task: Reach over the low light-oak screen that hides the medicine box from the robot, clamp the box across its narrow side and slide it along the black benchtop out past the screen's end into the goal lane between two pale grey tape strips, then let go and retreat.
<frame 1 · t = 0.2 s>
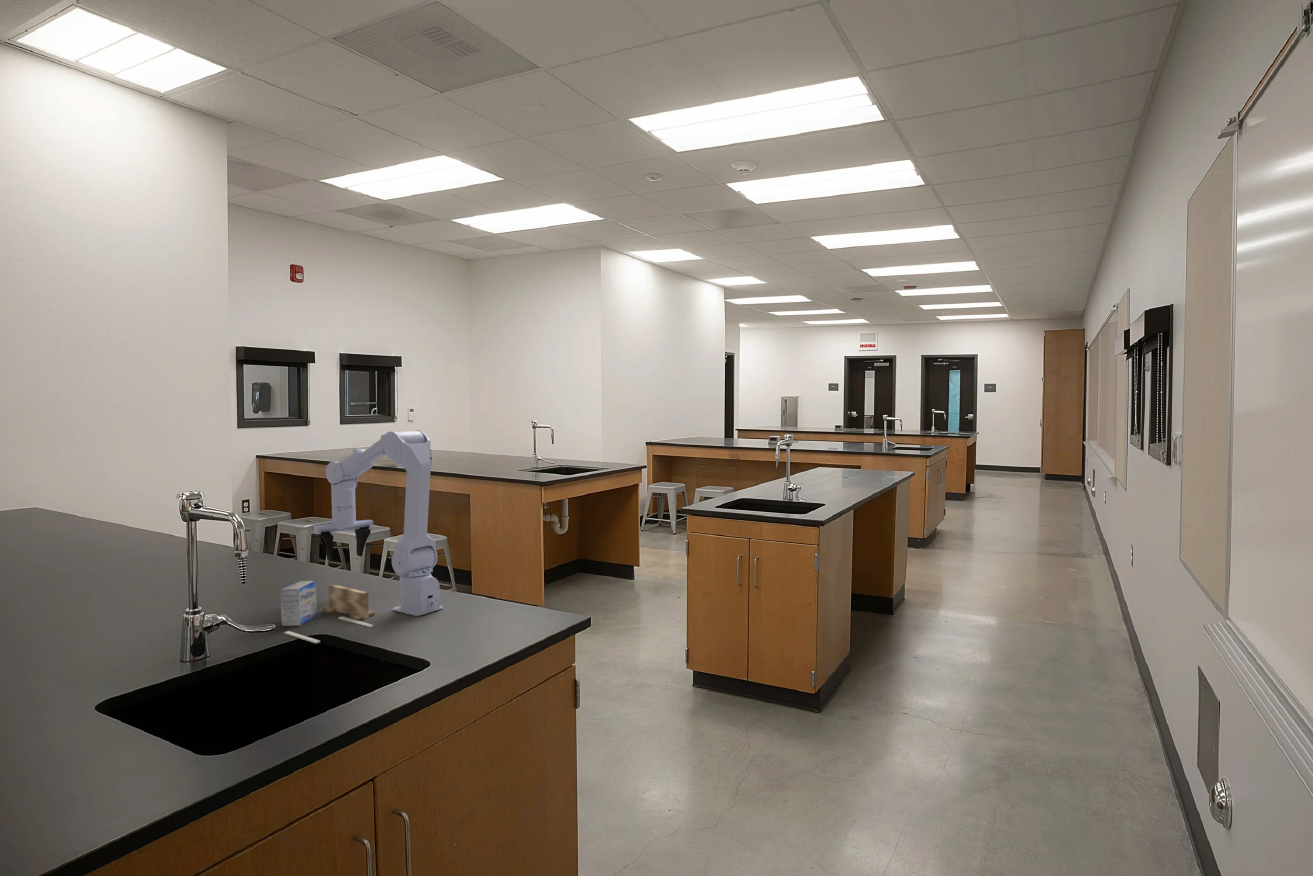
hand: (345, 557, 191), 10 cm above the counter, fingers open, 7 cm apart
tape marks: (329, 629, 162), on the counter
medicine box: (299, 622, 169), on the counter
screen: (348, 613, 175), on the counter
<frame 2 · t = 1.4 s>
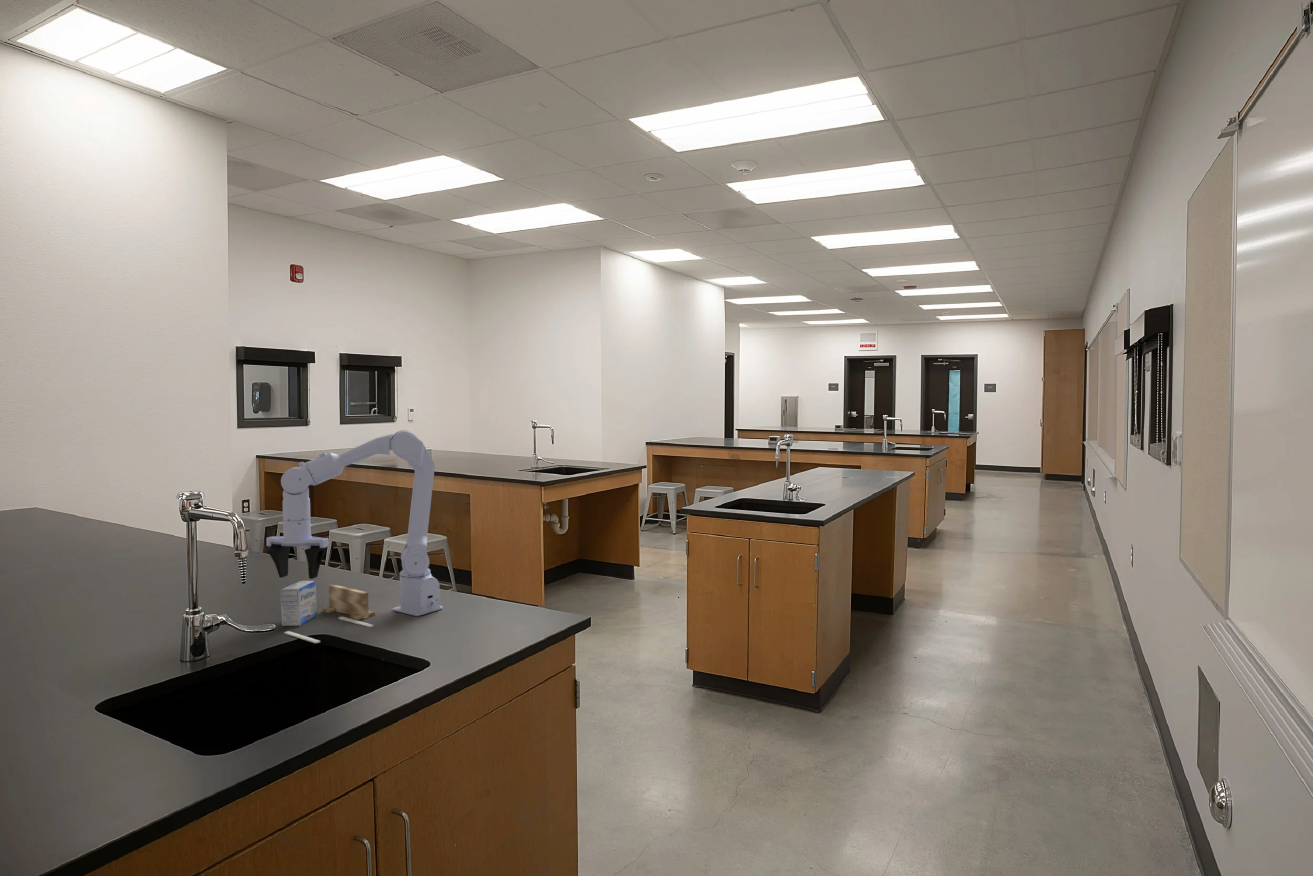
hand: (298, 577, 168), 10 cm above the counter, fingers open, 7 cm apart
nothing on the counter moved.
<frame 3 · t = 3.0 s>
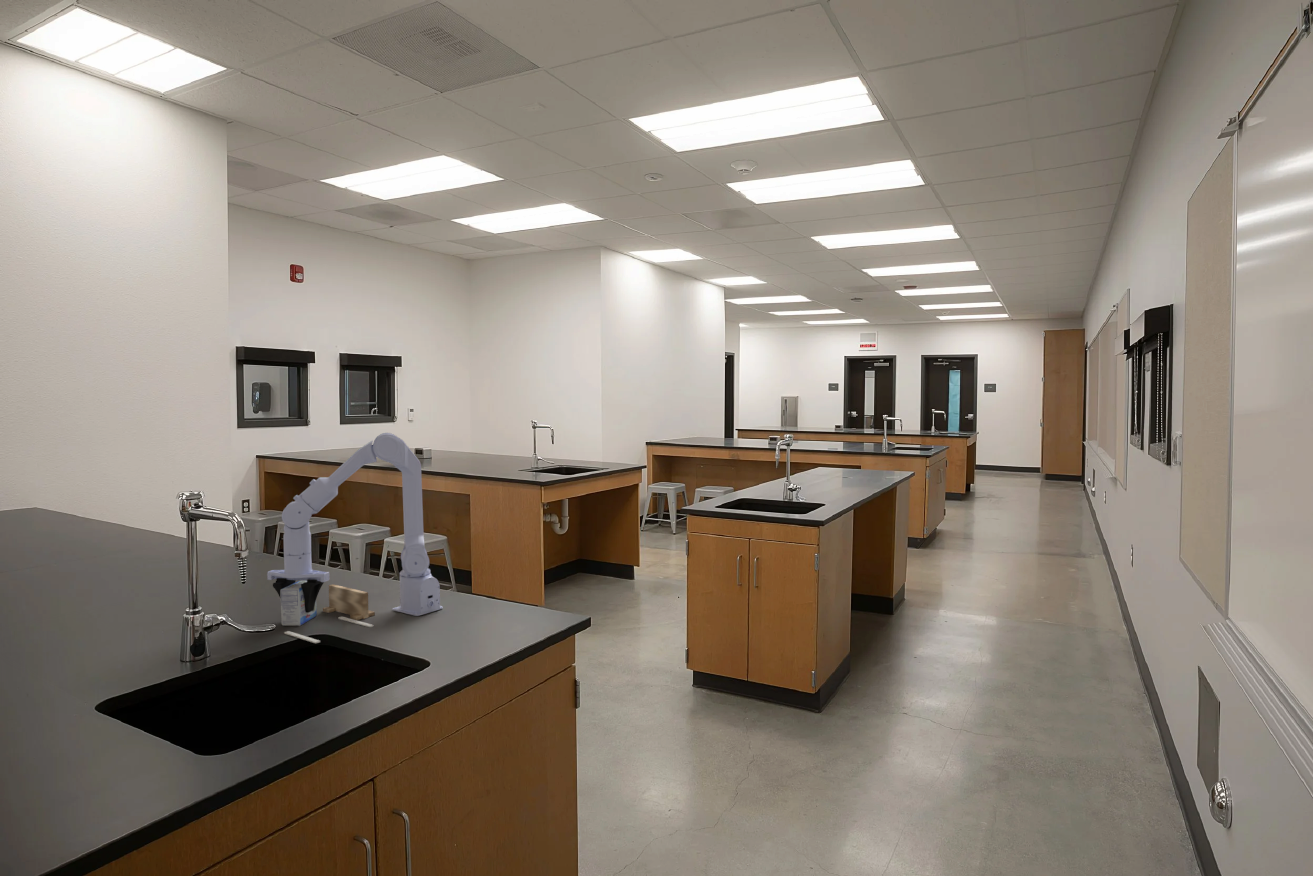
hand: (299, 610, 169), 2 cm above the counter, fingers closed on medicine box, 5 cm apart
medicine box: (299, 621, 169), on the counter, touching gripper
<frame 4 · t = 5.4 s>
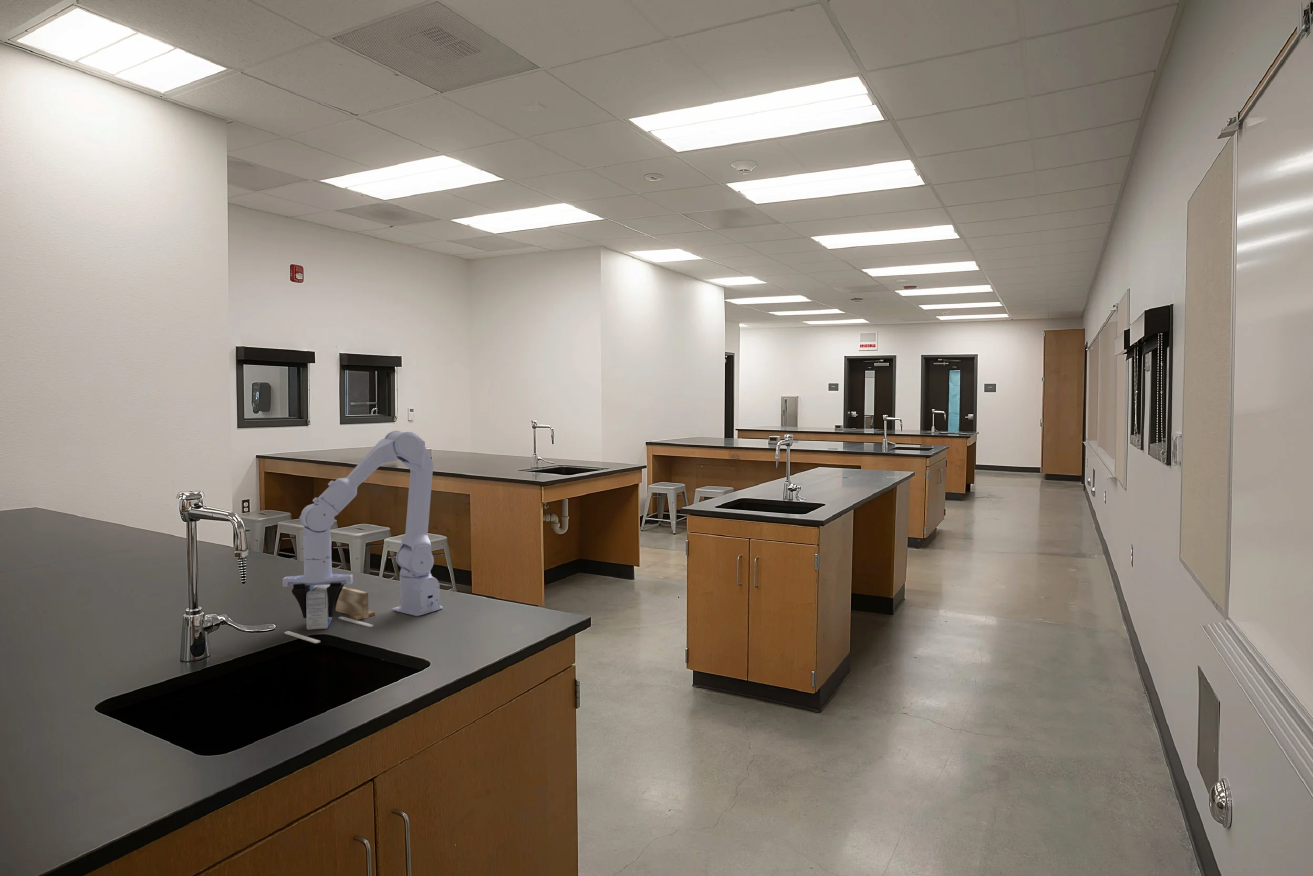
hand: (319, 616, 164), 2 cm above the counter, fingers closed on medicine box, 5 cm apart
medicine box: (319, 625, 166), on the counter, touching gripper
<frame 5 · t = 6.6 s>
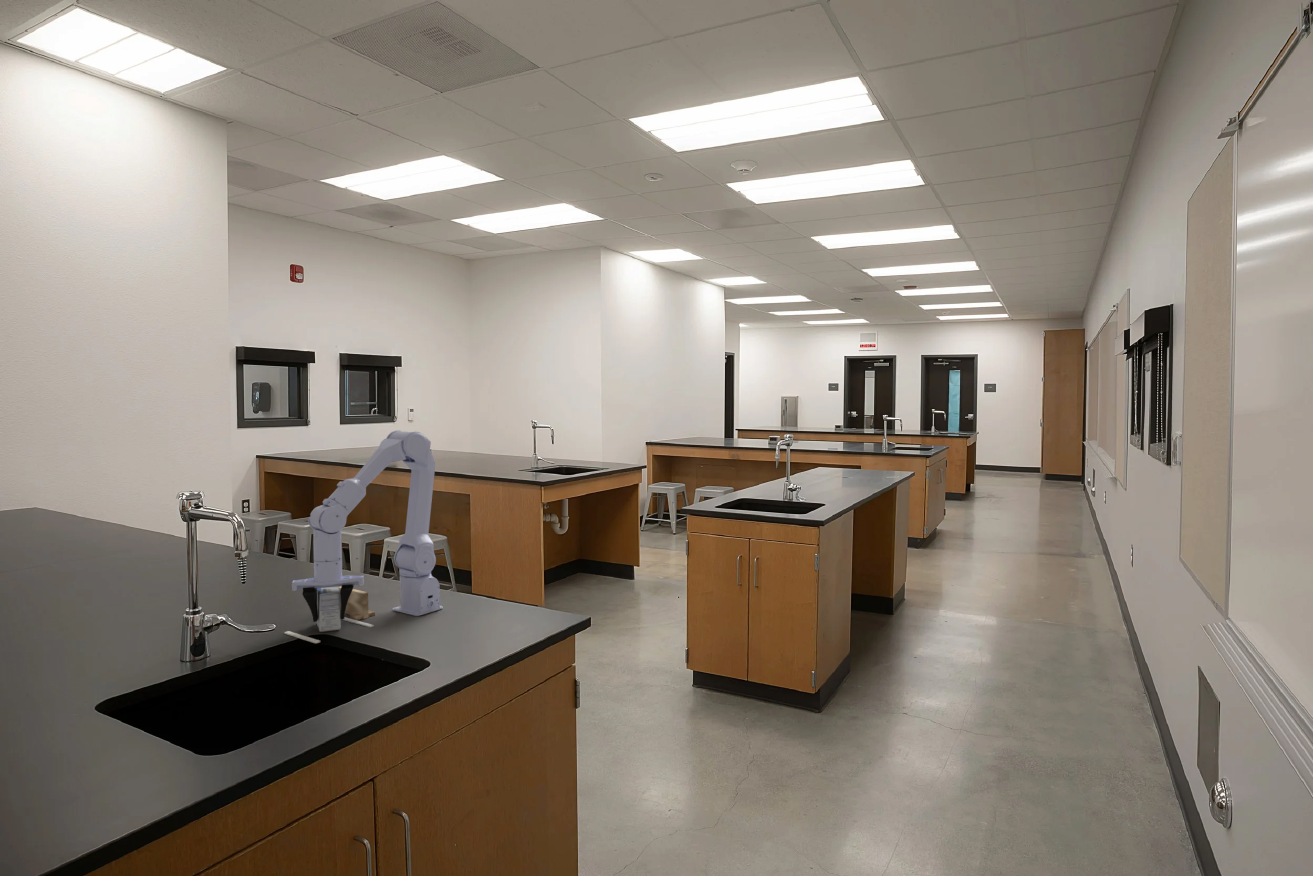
hand: (329, 619, 162), 2 cm above the counter, fingers closed on medicine box, 5 cm apart
medicine box: (327, 627, 164), on the counter, touching gripper
when the fingers open (2 cm above the counter, at t = 7.7 s): medicine box stays where it is, on the counter.
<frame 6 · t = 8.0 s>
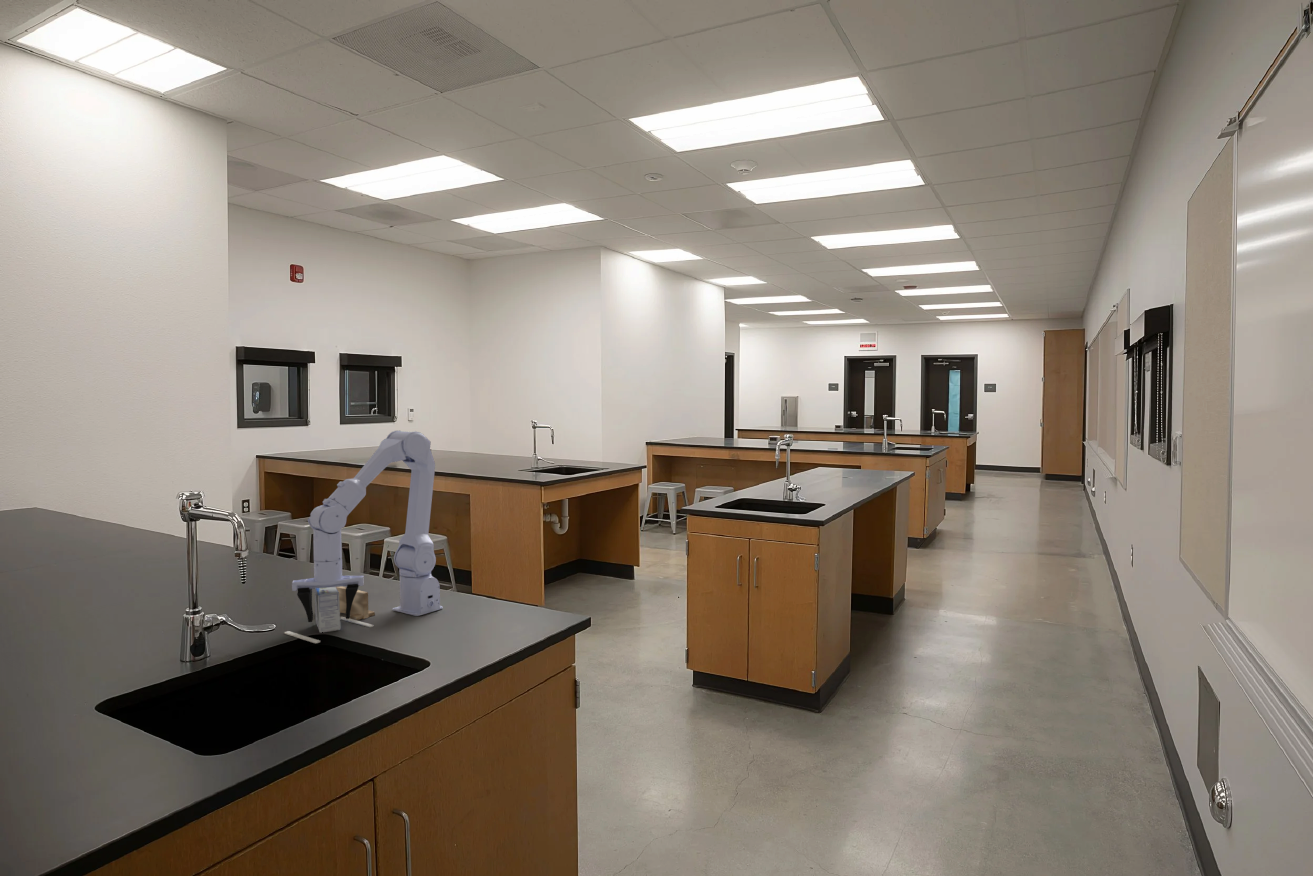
hand: (329, 619, 162), 2 cm above the counter, fingers open, 7 cm apart
medicine box: (327, 628, 164), on the counter
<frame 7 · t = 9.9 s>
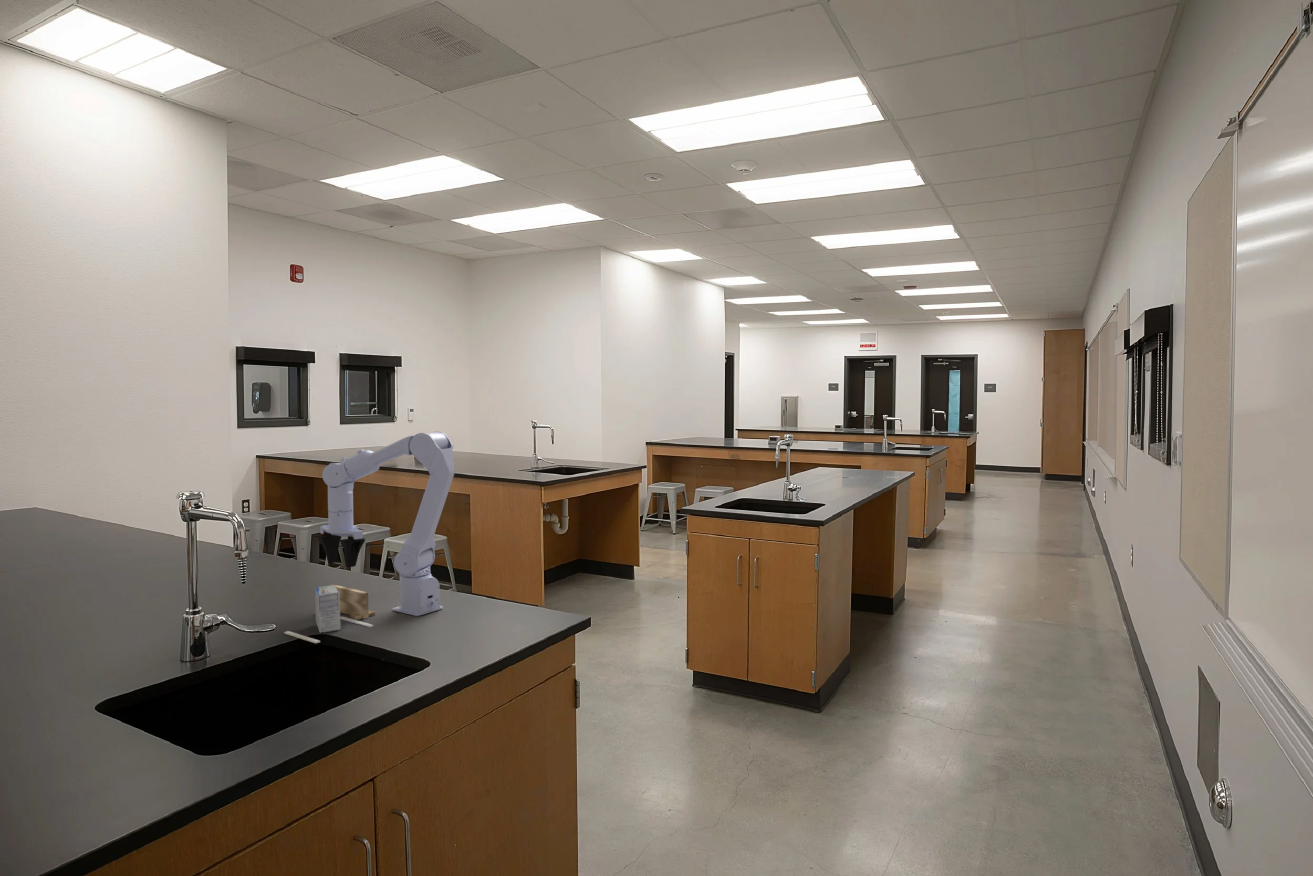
hand: (341, 564, 181), 10 cm above the counter, fingers open, 7 cm apart
nothing on the counter moved.
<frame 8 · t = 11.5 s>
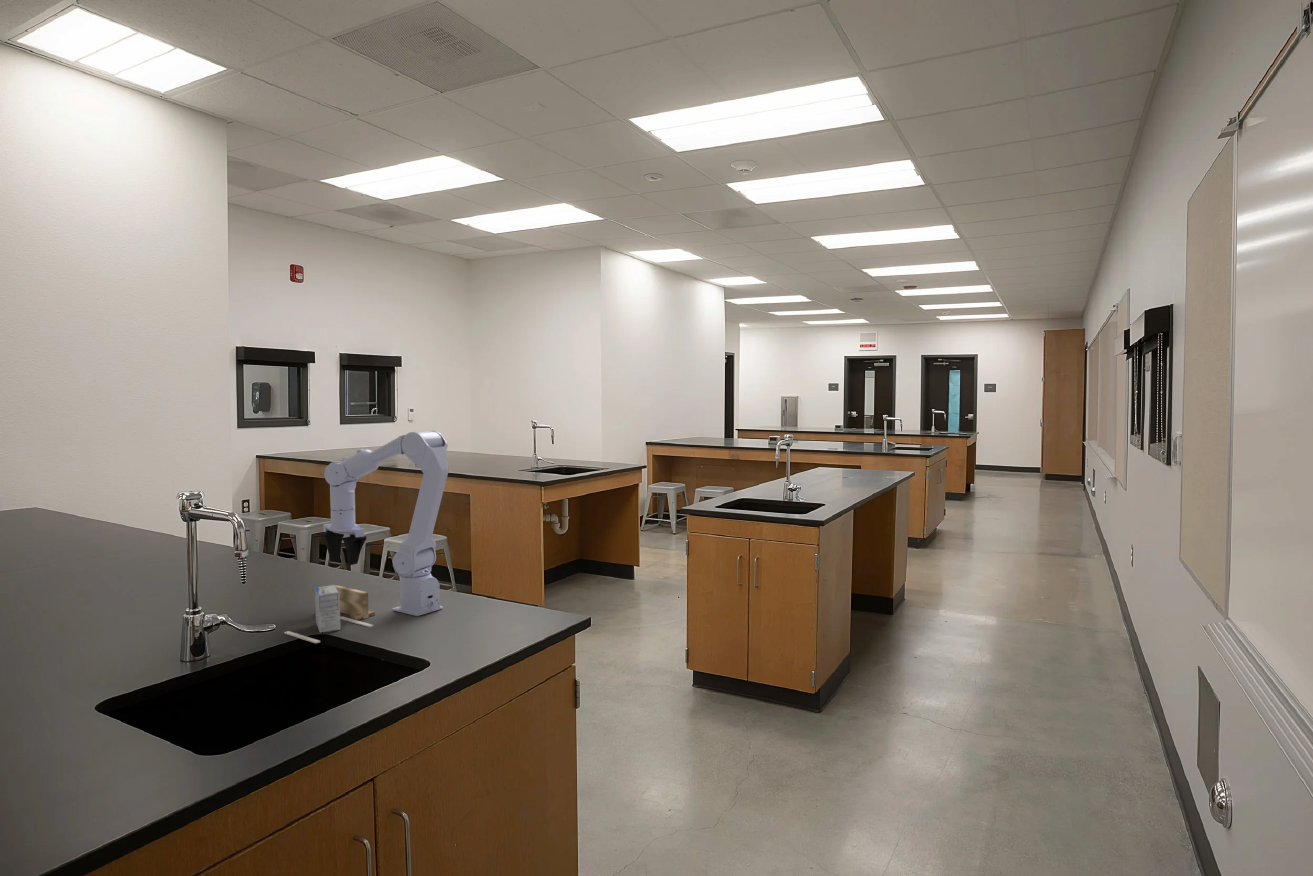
hand: (344, 562, 183), 10 cm above the counter, fingers open, 7 cm apart
nothing on the counter moved.
at the end: medicine box inside the target area (2.4 cm from its centre), on the counter; medicine box tilted 0°; the gripper is holding nothing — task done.
